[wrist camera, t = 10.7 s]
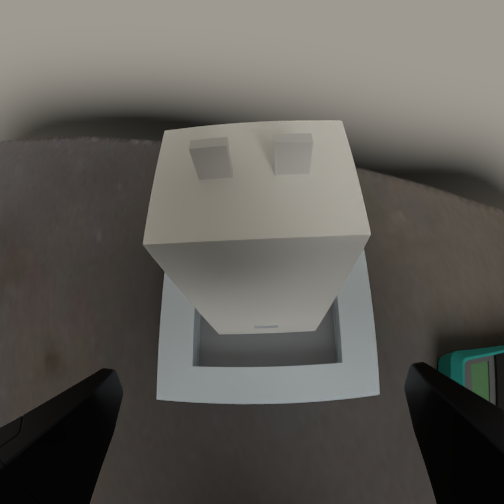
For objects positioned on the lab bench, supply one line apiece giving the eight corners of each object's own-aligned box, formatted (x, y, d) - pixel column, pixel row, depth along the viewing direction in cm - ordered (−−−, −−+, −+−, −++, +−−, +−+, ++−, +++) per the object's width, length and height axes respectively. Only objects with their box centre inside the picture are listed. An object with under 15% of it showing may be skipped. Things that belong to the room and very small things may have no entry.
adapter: (315, 331, 18) (385, 209, 6) (219, 335, 18) (122, 221, 6) (310, 265, 19) (346, 89, 8) (220, 269, 20) (154, 101, 8)
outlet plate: (368, 395, 17) (379, 394, 15) (169, 399, 17) (156, 399, 15) (349, 219, 22) (355, 202, 20) (180, 225, 23) (172, 209, 21)
